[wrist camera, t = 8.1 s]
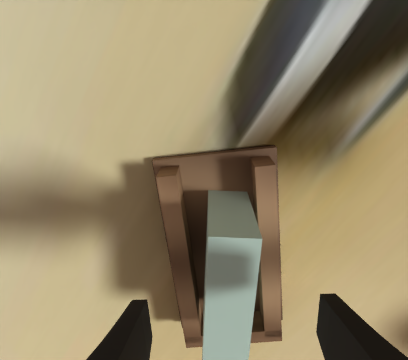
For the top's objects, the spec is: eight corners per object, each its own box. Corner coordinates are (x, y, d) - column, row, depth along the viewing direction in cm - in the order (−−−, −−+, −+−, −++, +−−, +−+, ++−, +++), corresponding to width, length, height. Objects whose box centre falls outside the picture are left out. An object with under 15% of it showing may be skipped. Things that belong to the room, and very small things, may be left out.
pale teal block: (208, 190, 20) (208, 236, 14) (247, 191, 20) (262, 238, 14) (203, 298, 23) (201, 372, 17) (237, 300, 23) (246, 374, 17)
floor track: (280, 314, 24) (288, 341, 22) (182, 321, 25) (179, 349, 22) (274, 145, 19) (284, 155, 17) (153, 158, 20) (146, 170, 17)
